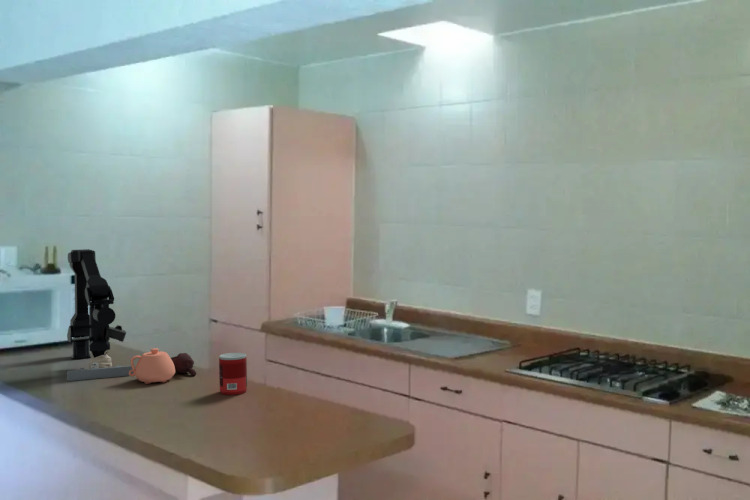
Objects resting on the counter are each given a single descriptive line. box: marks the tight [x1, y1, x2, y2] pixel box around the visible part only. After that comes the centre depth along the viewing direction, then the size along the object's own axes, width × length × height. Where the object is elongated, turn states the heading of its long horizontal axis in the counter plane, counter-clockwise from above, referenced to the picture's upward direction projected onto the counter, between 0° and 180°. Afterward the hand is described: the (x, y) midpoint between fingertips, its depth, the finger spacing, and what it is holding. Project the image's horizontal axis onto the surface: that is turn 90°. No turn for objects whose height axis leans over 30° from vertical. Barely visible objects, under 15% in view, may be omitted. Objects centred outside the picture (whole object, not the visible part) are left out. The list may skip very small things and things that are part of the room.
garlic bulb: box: [88, 350, 113, 369], centre depth 239 cm, size 7×6×8 cm
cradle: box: [66, 364, 133, 382], centre depth 237 cm, size 6×20×3 cm, turn 112°
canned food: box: [218, 352, 248, 396], centre depth 215 cm, size 8×8×11 cm
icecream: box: [170, 352, 197, 377], centre depth 240 cm, size 7×7×15 cm
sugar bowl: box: [129, 347, 176, 385], centre depth 230 cm, size 12×14×10 cm
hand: (100, 366), depth 245 cm, fingers closed
